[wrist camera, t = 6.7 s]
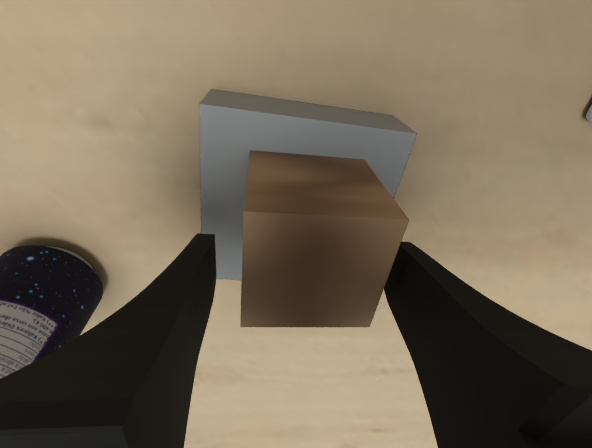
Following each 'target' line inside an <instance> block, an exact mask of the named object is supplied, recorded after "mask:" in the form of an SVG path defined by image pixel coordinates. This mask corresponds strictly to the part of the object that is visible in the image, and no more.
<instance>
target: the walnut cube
mask: <svg viewBox="0 0 592 448" xmlns="http://www.w3.org/2000/svg"><path fill="white" fill-rule="evenodd" d="M408 221H409V219H408V218H407V216H406V215H405V214H404V212H403V211H402V210H401V208H400V207H399V206H398V204H397V203H396V202H395V200H394V199H393V197H392V196H391V195H390V193H389V192H388V191H387V189H386V188H385V187H384V185H383V184H382V183H381V181H380V180H379V179H378V177H377V176H376V175H375V173H374V172H373V170H372V169H371V168H370V166H369V165H368V164H367V162H366V161H365V160H364V159H354V158H341V157H329V156H317V155H304V154H291V153H279V152H266V151H253V150H250V153H249V162H248V172H247V182H246V192H245V201H244V211H243V249H242V289H241V327H370V324H371V322H372V319H373V316H374V314H375V311H376V308H377V305H378V303H379V300H380V297H381V295H382V292H383V289H384V286H385V284H386V281H387V278H388V276H389V273H390V270H391V267H392V265H393V262H394V259H395V257H396V254H397V251H398V248H399V246H400V243H401V240H402V238H403V235H404V232H405V229H406V227H407V224H408Z"/></svg>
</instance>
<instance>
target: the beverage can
mask: <svg viewBox="0 0 592 448" xmlns="http://www.w3.org/2000/svg"><path fill="white" fill-rule="evenodd" d="M102 295H103V287H102V283H101V281H100V279H99V277H98V275H97V274H96V273H95V271H94V269H93V268H92V266H91V265H90V264H89V263H88V262H87V261H86V260H85V259H84V258H82V257H81V256H79V255H78V254H76V253H74V252H72V251H69V250H66V249H63V248H59V247H52V246H34V245H30V246H20V247H16V248H13V249H10V250H8V251H6V252H5V253H3V254H2V255H1V256H0V379H1V378H3V377H5V376H7V375H9V374H11V373H13V372H15V371H17V370H19V369H21V368H23V367H25V366H27V365H29V364H30V363H32V362H34V361H36V360H38V359H40V358H42V357H44V356H46V355H48V354H50V353H51V352H53V351H55V350H57V349H59V348H60V347H62V346H64V345H65V344H67V343H69V342H71V341H72V340H74V339H76V338H77V337H79V336H80V334H81V332H82V331H83V329H84V327H85V326H86V324H87V322H88V321H89V319H90V317H91V315H92V314H93V312H94V310H95V309H96V307H97V305H98V304H99V302H100V300H101V298H102Z"/></svg>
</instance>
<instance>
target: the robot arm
mask: <svg viewBox="0 0 592 448" xmlns="http://www.w3.org/2000/svg"><path fill="white" fill-rule="evenodd" d="M586 118H587V120H588V121H591V122H592V105H591V107H590V108H589V110H588V112H587V115H586ZM216 276H217V274H216V249H215V234H199V233H198V234H197V235H195V236H194V238H193V239H192V240H191V241H190V243H189V244H188V245H187V246H186V247H185V249H184V250H183V251H182V252H181V253H180V254H179V255H178V256H177V258H176V259H175V260H174V261H173V262H172V263H171V264H170V265H169V266H168V267H167V268H166V269H165V270H164V271H163V272H162V273H161V274H160V275H159V276H158V277H157V278H156V279H155V280H154V281H153V282H152V283H151V284H150V285H148V286H147V287H146V288H145V289H144V290H143V291H142V292H140V293H139V294H138V295H137V296H136V297H135V298H133V299H132V300H131V301H130V302H128V303H127V304H126V305H124V306H123V307H122V308H120V309H119V310H118V311H116V312H115V313H114V314H112V315H111V316H109V317H108V318H106V319H105V320H104V321H102V322H101V323H99V324H98V325H96V326H95V327H93V328H92V329H90V330H89V331H87V332H85V333H84V334H82V335H80V336H79V337H77V338H76V339H74V340H72V341H71V342H69V343H67V344H65V345H64V346H62V347H60V348H59V349H57V350H55V351H53V352H51V353H50V354H48V355H46V356H44V357H42V358H40V359H38V360H36V361H34V362H32V363H30V364H29V365H27V366H25V367H23V368H21V369H19V370H17V371H15V372H13V373H11V374H9V375H7V376H5V377H3V378H1V379H0V448H184V441H185V434H186V427H187V420H188V414H189V407H190V401H191V394H192V388H193V382H194V376H195V370H196V365H197V360H198V356H199V352H200V348H201V344H202V341H203V337H204V333H205V329H206V326H207V322H208V318H209V314H210V310H211V307H212V303H213V298H214V291H215V284H216ZM384 291H385V294H386V298H387V301H388V304H389V306H390V309H391V311H392V313H393V316H394V318H395V320H396V323H397V325H398V327H399V329H400V332H401V334H402V336H403V339H404V341H405V343H406V345H407V348H408V350H409V352H410V355H411V357H412V360H413V362H414V365H415V368H416V371H417V374H418V378H419V381H420V384H421V387H422V390H423V394H424V397H425V400H426V404H427V407H428V411H429V414H430V418H431V422H432V426H433V430H434V434H435V437H436V441H437V445H438V448H592V351H591V350H589V349H586V348H584V347H582V346H579V345H577V344H575V343H573V342H570V341H568V340H566V339H564V338H561V337H559V336H557V335H555V334H553V333H551V332H549V331H547V330H545V329H543V328H541V327H539V326H537V325H535V324H533V323H531V322H529V321H527V320H525V319H523V318H521V317H519V316H518V315H516V314H514V313H512V312H510V311H509V310H507V309H505V308H504V307H502V306H500V305H499V304H497V303H495V302H494V301H492V300H490V299H489V298H487V297H486V296H484V295H482V294H481V293H479V292H478V291H476V290H475V289H474V288H472V287H471V286H469V285H468V284H466V283H465V282H463V281H462V280H461V279H459V278H458V277H456V276H455V275H454V274H452V273H451V272H450V271H448V270H447V269H446V268H444V267H443V266H442V265H440V264H439V263H438V262H436V261H435V260H434V259H432V258H431V257H430V256H429V255H427V254H426V253H425V252H423V251H422V250H421V249H419V248H418V247H416V246H415V245H413V244H412V243H410V242H401V243H400V246H399V248H398V251H397V254H396V257H395V259H394V262H393V265H392V267H391V270H390V273H389V276H388V278H387V281H386V284H385V286H384Z"/></svg>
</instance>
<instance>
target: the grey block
mask: <svg viewBox="0 0 592 448" xmlns="http://www.w3.org/2000/svg"><path fill="white" fill-rule="evenodd" d="M199 120H200V188H201V234H215V249H216V274H217V276H216V279H230V280H242V249H243V211H244V201H245V192H246V182H247V172H248V162H249V153H250V150H253V151H266V152H279V153H291V154H304V155H317V156H329V157H341V158H354V159H364V160H365V161H366V162H367V164H368V165H369V166H370V168H371V169H372V170H373V172H374V173H375V175H376V176H377V177H378V179H379V180H380V181H381V183H382V184H383V185H384V187H385V188H386V189H387V191H388V192H389V193H390V195H391V196H392V197H393V199H394V196H395V193H396V190H397V188H398V185H399V182H400V179H401V177H402V174H403V171H404V168H405V166H406V163H407V160H408V158H409V155H410V152H411V149H412V147H413V144H414V141H415V138H416V136H417V133H415V132H414V131H413V130H411V129H410V128H409V127H407V126H406V125H405V124H403V123H402V122H400V121H399V120H398V119H396V118H395V117H394V116H392V115H385V114H378V113H372V112H365V111H358V110H351V109H344V108H337V107H330V106H323V105H317V104H310V103H303V102H296V101H289V100H282V99H275V98H268V97H262V96H255V95H248V94H241V93H234V92H227V91H220V90H213V89H211V90H210V91H209V92H208V94H207V95H206V96H205V97H204V99H203V100H202V101H201V102H200V103H199Z"/></svg>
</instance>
